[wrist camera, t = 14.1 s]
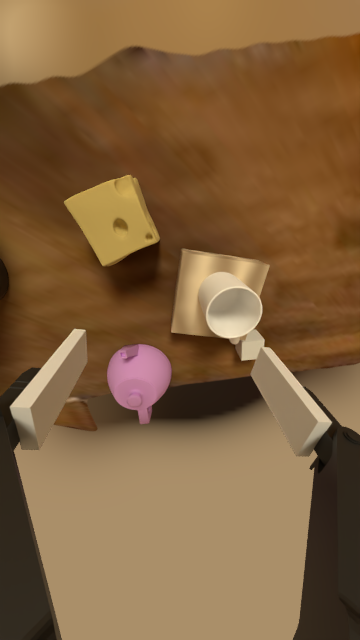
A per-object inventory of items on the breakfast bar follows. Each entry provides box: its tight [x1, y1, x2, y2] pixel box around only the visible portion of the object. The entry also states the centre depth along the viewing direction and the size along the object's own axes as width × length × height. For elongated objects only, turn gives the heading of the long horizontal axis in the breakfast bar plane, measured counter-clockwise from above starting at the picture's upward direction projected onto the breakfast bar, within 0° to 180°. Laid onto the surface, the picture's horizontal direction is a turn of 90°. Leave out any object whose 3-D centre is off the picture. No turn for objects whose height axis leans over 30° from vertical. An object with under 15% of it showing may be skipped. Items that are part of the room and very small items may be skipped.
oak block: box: [171, 249, 270, 340], centre depth 43 cm, size 16×16×6 cm
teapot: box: [107, 344, 172, 424], centre depth 48 cm, size 22×16×12 cm
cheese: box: [64, 175, 160, 266], centre depth 34 cm, size 10×11×10 cm
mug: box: [198, 272, 262, 344], centre depth 35 cm, size 12×8×10 cm
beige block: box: [235, 330, 264, 361], centre depth 49 cm, size 5×5×5 cm
